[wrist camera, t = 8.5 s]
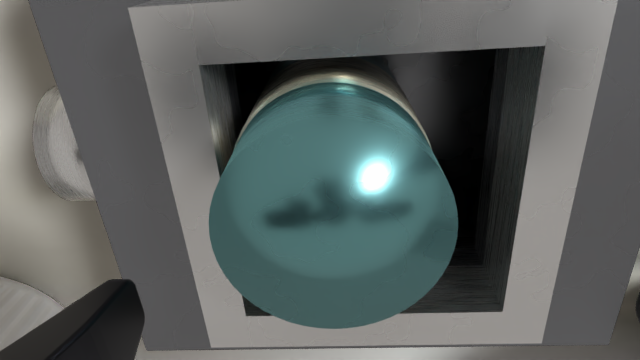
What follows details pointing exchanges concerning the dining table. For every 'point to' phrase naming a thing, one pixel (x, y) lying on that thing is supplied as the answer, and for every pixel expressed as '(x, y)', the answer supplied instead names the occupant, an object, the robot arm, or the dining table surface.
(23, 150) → the dining table surface
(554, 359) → the dining table surface
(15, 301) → the ramekin
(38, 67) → the dining table surface
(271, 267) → the metal can
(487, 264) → the grey hollow block
